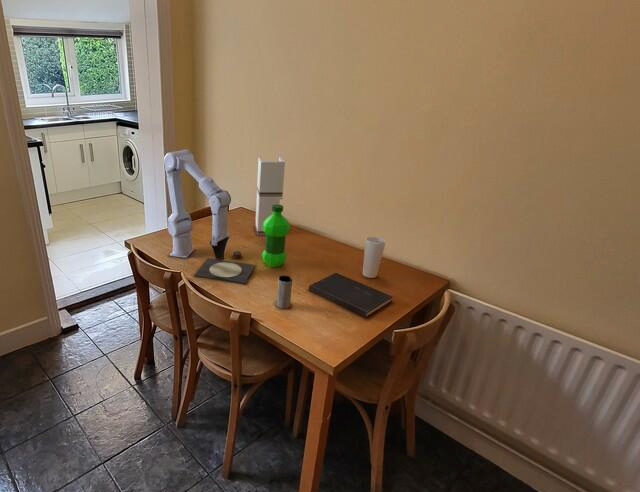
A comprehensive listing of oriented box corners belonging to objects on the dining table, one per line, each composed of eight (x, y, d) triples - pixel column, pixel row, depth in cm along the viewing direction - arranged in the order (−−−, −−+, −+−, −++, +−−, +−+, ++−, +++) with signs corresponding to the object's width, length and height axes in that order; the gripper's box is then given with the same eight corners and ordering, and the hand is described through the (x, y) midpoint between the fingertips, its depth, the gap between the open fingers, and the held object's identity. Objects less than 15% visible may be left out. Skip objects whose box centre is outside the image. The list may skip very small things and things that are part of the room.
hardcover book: (335, 277, 157) (335, 272, 156) (391, 302, 141) (392, 296, 140) (308, 291, 148) (308, 285, 147) (365, 318, 132) (366, 312, 131)
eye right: (234, 255, 177) (234, 250, 176) (242, 256, 175) (242, 251, 175) (231, 258, 173) (232, 254, 173) (240, 259, 172) (240, 255, 172)
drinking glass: (378, 272, 161) (385, 237, 154) (378, 280, 155) (385, 244, 148) (360, 270, 163) (366, 235, 156) (360, 278, 157) (366, 242, 150)
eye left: (216, 256, 164) (216, 251, 163) (225, 257, 163) (225, 252, 162) (214, 260, 161) (214, 255, 160) (222, 261, 159) (222, 256, 159)
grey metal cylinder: (275, 301, 142) (277, 275, 137) (288, 301, 142) (290, 275, 137) (278, 309, 137) (280, 282, 133) (291, 308, 138) (294, 281, 133)
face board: (208, 259, 173) (208, 257, 172) (254, 266, 167) (254, 264, 166) (194, 276, 159) (194, 274, 159) (244, 284, 153) (245, 282, 153)
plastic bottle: (288, 261, 170) (293, 203, 160) (282, 272, 162) (286, 211, 151) (265, 257, 174) (269, 200, 164) (257, 267, 166) (260, 208, 155)
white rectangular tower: (279, 235, 196) (284, 162, 182) (257, 235, 197) (260, 162, 182) (276, 226, 207) (281, 156, 192) (255, 226, 207) (258, 156, 192)
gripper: (224, 231, 148) (224, 264, 154) (235, 218, 160) (234, 249, 166) (206, 228, 150) (206, 262, 156) (218, 216, 162) (217, 247, 168)
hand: (219, 255), depth 161 cm, fingers closed on eye left, 3 cm apart
